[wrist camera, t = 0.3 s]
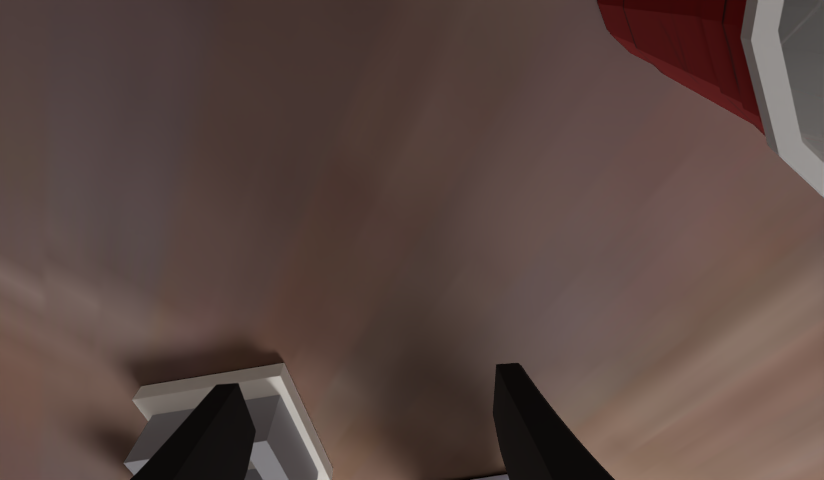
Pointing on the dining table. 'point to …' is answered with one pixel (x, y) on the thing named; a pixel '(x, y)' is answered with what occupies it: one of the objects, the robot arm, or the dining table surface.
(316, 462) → the socket block
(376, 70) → the dining table surface
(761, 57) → the plastic cup
